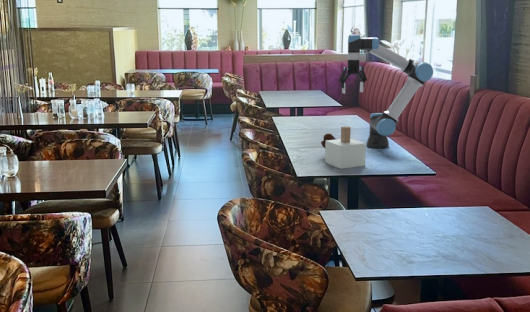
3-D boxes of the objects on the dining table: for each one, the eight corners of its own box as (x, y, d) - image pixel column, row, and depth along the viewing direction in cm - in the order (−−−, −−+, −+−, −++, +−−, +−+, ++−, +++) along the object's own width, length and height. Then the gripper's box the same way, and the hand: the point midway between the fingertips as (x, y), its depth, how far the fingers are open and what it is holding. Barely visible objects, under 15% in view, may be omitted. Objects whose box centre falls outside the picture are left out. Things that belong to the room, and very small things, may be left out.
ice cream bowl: (337, 158, 340) (338, 135, 337) (319, 158, 342) (320, 134, 339) (338, 155, 350) (339, 132, 347) (321, 154, 352) (322, 131, 349)
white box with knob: (349, 159, 338) (350, 123, 333) (365, 165, 323) (366, 128, 318) (325, 162, 331) (325, 125, 326) (340, 168, 316) (341, 130, 311)
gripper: (366, 58, 356) (365, 91, 361) (333, 59, 346) (333, 93, 351) (373, 59, 350) (372, 92, 355) (340, 60, 340) (339, 94, 345)
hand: (352, 92), depth 353 cm, fingers open, 13 cm apart
